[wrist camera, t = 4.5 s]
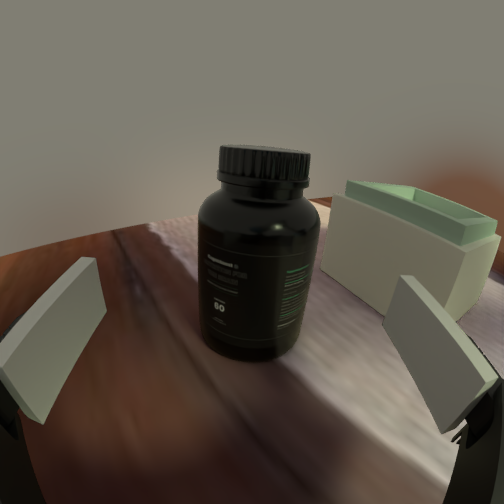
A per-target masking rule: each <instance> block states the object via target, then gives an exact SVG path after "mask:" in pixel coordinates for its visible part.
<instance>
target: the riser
mask: <svg viewBox="0 0 504 504" xmlns="http://www.w3.org/2000/svg"><path fill="white" fill-rule="evenodd" d="M496 226H497V221H496V220H494V219H492V218H490V217H488V216H485V215H483V214H481V213H479V212H477V211H474V210H472V209H470V208H467V207H465V206H462V205H460V204H458V203H455V202H453V201H450V200H447V199H445V198H442V197H439V196H437V195H434V194H432V193H429V192H426V191H423V190H420V189H417V188H415V187H410V186H402V185H393V184H384V183H374V182H362V181H349V180H347V184H346V191H345V194H336V193H334V194H333V198H332V205H331V211H330V217H329V223H328V229H327V234H326V240H325V245H324V251H323V256H322V261H321V266H320V269H321V270H322V271H324V272H325V273H326V274H328V275H329V276H331V277H332V278H333V279H335V280H336V281H337V282H339V283H340V284H341V285H343V286H344V287H345V288H347V289H348V290H349V291H351V292H352V293H354V294H355V295H356V296H358V297H359V298H360V299H362V300H363V301H364V302H366V303H367V304H368V305H370V306H371V307H372V308H374V309H375V310H376V311H377V312H379V313H380V314H381V315H383V316H384V317H385V316H386V313H387V310H388V308H389V305H390V302H391V300H392V297H393V294H394V291H395V288H396V285H397V282H398V279H399V276H400V275H412V276H414V277H415V278H416V280H417V281H418V282H419V283H420V284H421V285H422V286H423V287H424V288H425V289H426V290H427V291H428V292H429V293H430V294H431V295H432V296H433V297H434V299H435V300H436V301H437V302H438V303H439V304H440V305H441V306H442V307H443V308H444V310H445V311H446V312H447V313H448V314H449V315H450V316H451V317H452V319H453V320H454V321H455V322H456V321H458V320H459V319H460V318H461V317H462V316H463V315H464V314H465V313H466V312H467V311H468V310H469V309H470V308H471V307H472V306H473V305H474V304H475V303H476V302H477V301H478V299H479V297H480V294H481V292H482V289H483V287H484V285H485V282H486V280H487V277H488V274H489V272H490V269H491V266H492V264H493V261H494V258H495V255H496V252H497V249H498V246H499V242H500V239H501V237H500V236H498V235H496V234H494V233H495V230H496Z"/></svg>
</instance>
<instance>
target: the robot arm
mask: <svg viewBox="0 0 504 504" xmlns="http://www.w3.org/2000/svg"><path fill="white" fill-rule="evenodd" d="M106 312H107V310H106V306H105V302H104V297H103V293H102V288H101V283H100V278H99V273H98V268H97V262H96V258H90V257H81V258H80V259H79V260H78V261H77V262H76V263H74V264H73V265H72V266H71V267H70V268H69V269H68V270H67V271H66V272H65V273H64V274H63V275H62V276H61V277H60V278H59V279H58V280H57V281H56V282H55V283H54V284H53V285H52V286H51V287H50V288H49V289H48V290H47V291H46V292H45V293H44V294H43V295H42V296H41V297H40V298H39V299H38V300H37V301H36V302H35V303H34V304H33V306H32V307H31V308H30V309H29V310H28V311H26V312H25V313H23V314H22V315H20V316H19V317H17V318H16V319H15V320H14V321H13V322H12V324H11V325H10V326H9V329H6V331H5V332H4V333H3V336H1V337H0V504H46V502H45V500H44V498H43V495H42V493H41V490H40V487H39V485H38V482H37V479H36V476H35V473H34V470H33V467H32V464H31V461H30V457H29V454H28V450H27V446H26V442H25V438H24V434H23V429H22V424H21V420H20V417H19V415H18V413H17V411H18V409H19V407H20V408H21V410H22V411H23V412H24V413H25V415H26V416H27V417H28V418H30V419H32V420H34V421H36V422H38V423H40V424H43V425H44V422H45V420H46V418H47V416H48V414H49V412H50V410H51V408H52V406H53V404H54V402H55V400H56V398H57V396H58V394H59V392H60V390H61V388H62V386H63V384H64V383H65V381H66V379H67V377H68V375H69V373H70V372H71V370H72V368H73V366H74V364H75V363H76V361H77V359H78V357H79V356H80V354H81V352H82V351H83V349H84V347H85V346H86V344H87V342H88V341H89V339H90V337H91V336H92V334H93V332H94V331H95V329H96V328H97V326H98V324H99V323H100V321H101V320H102V318H103V317H104V315H105V313H106ZM382 326H383V327H384V329H385V330H386V332H387V334H388V335H389V337H390V339H391V341H392V342H393V344H394V346H395V347H396V349H397V351H398V353H399V354H400V356H401V358H402V360H403V361H404V363H405V365H406V367H407V368H408V370H409V372H410V374H411V376H412V378H413V379H414V381H415V383H416V385H417V387H418V389H419V391H420V393H421V394H422V396H423V398H424V400H425V402H426V404H427V406H428V408H429V410H430V412H431V414H432V416H433V418H434V420H435V422H436V424H437V426H438V429H439V431H440V433H441V434H444V433H446V432H448V431H451V430H453V429H455V428H456V427H457V426H458V425H459V424H460V423H461V422H462V421H463V420H464V419H465V420H466V422H467V424H466V425H465V426H464V427H463V428H462V429H461V430H460V431H459V432H458V433H457V434H456V435H455V436H454V437H453V439H452V441H451V442H454V441H455V440H456V439H457V438H458V437H459V436H461V438H460V439H459V440H458V441H457V443H456V444H459V450H458V454H457V458H456V462H455V466H454V470H453V473H452V477H451V480H450V483H449V487H448V490H447V493H446V496H445V498H444V501H443V504H504V380H503V379H502V378H501V376H500V375H499V374H498V372H497V371H496V369H495V368H494V367H493V365H492V364H491V363H490V361H489V360H488V359H487V357H486V356H485V355H483V352H482V351H481V350H480V348H478V346H477V345H476V343H475V342H474V341H473V340H472V339H471V337H469V336H468V335H467V334H465V333H464V332H463V330H462V329H461V328H460V327H459V326H458V324H457V323H456V322H455V321H454V320H453V319H452V317H451V316H450V315H449V314H448V313H447V312H446V311H445V310H444V308H443V307H442V306H441V305H440V304H439V303H438V302H437V301H436V300H435V299H434V297H433V296H432V295H431V294H430V293H429V292H428V291H427V290H426V289H425V288H424V287H423V286H422V285H421V284H420V283H419V282H418V281H417V280H416V278H415V277H414V276H412V275H400V276H399V279H398V282H397V285H396V288H395V291H394V294H393V297H392V300H391V302H390V305H389V308H388V310H387V313H386V316H385V318H384V321H383V323H382Z"/></svg>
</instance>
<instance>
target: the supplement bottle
mask: <svg viewBox="0 0 504 504" xmlns="http://www.w3.org/2000/svg"><path fill="white" fill-rule="evenodd" d="M309 166H310V153H307V152H303V151H298V150H291V149H283V148H275V147H265V146H252V145H222V146H220V153H219V169H218V170H217V179H218V180H219V181H221V189H220V190H218V191H216V192H214V193H213V194H211V195H210V196H209V197H207V199H205V201H204V202H203V204H202V205H201V207H200V210H199V214H198V290H199V316H200V328H201V333H202V335H203V337H204V339H205V341H206V342H207V343H208V345H209V346H210V347H211V348H213V349H214V350H215V351H216V352H218V353H219V354H221V355H223V356H225V357H228V358H230V359H233V360H237V361H242V362H263V361H268V360H272V359H275V358H277V357H279V356H281V355H283V354H284V353H286V352H287V351H288V350H290V349H291V348H292V347H293V345H294V344H295V342H296V341H297V338H298V335H299V332H300V328H301V324H302V320H303V315H304V311H305V306H306V302H307V297H308V292H309V287H310V282H311V277H312V272H313V267H314V261H315V256H316V250H317V245H318V239H319V233H320V218H319V214H318V212H317V210H316V208H315V207H314V206H313V205H312V204H311V203H310V202H309V201H308V200H307V199H306V198H305V197H303V189H304V188H307V187H308V186H309V181H310V178H309V177H308V175H309Z"/></svg>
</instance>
